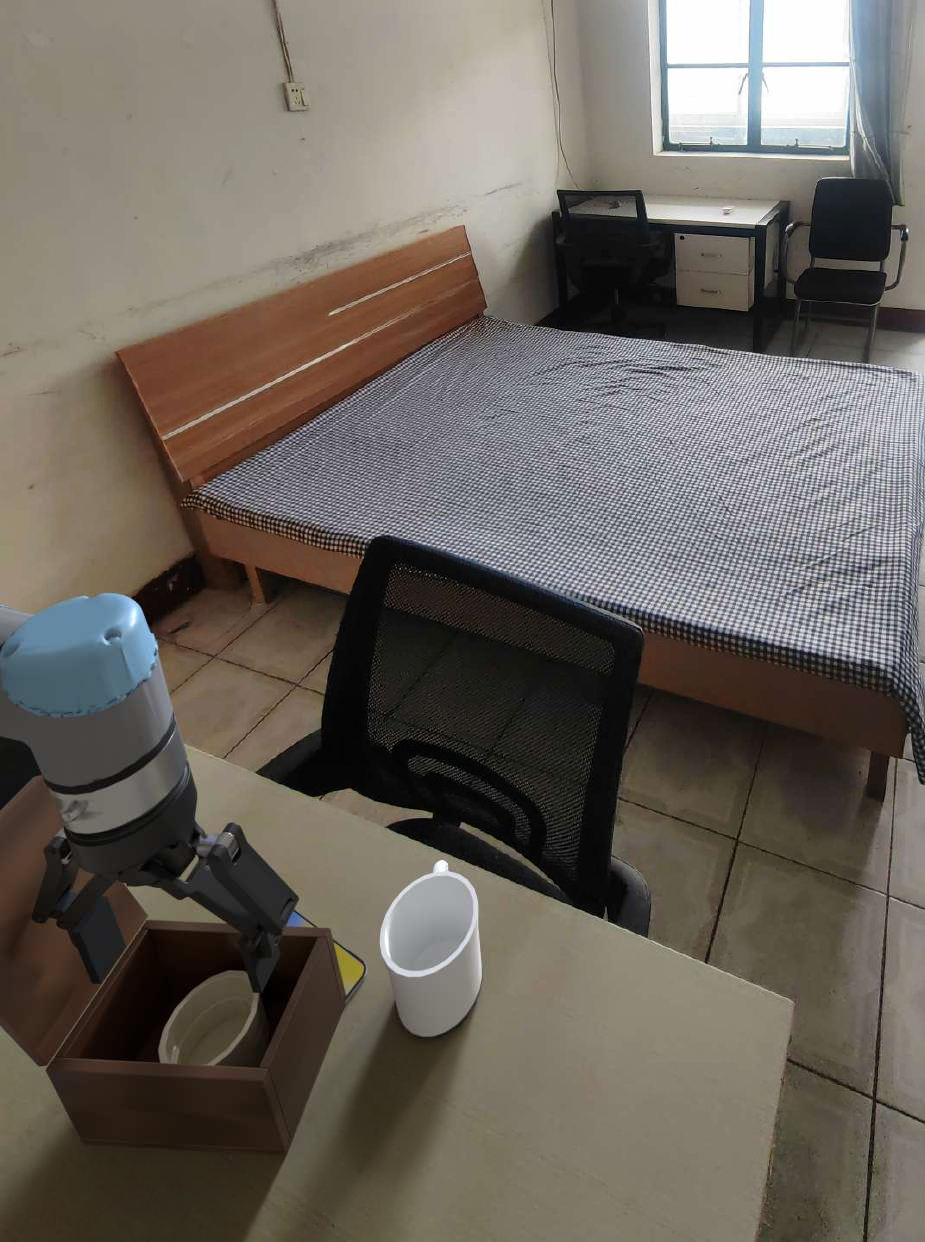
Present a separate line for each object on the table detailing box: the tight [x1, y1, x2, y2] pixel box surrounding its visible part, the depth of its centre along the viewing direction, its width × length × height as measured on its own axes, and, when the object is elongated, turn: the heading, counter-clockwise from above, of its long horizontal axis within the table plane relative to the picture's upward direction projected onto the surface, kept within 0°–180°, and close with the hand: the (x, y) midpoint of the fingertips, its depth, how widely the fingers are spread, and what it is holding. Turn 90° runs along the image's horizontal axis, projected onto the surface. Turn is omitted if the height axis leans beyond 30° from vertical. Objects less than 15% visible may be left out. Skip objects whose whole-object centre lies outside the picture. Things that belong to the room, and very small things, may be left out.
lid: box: [0, 775, 149, 1068], centre depth 56 cm, size 18×11×8 cm
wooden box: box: [45, 919, 347, 1156], centre depth 60 cm, size 18×11×11 cm, turn 88°
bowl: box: [158, 970, 270, 1068], centre depth 61 cm, size 7×7×6 cm
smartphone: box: [286, 908, 368, 1006], centre depth 69 cm, size 7×1×15 cm
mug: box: [379, 860, 483, 1040], centre depth 67 cm, size 11×9×10 cm
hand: (188, 969), depth 58 cm, fingers open, 13 cm apart
